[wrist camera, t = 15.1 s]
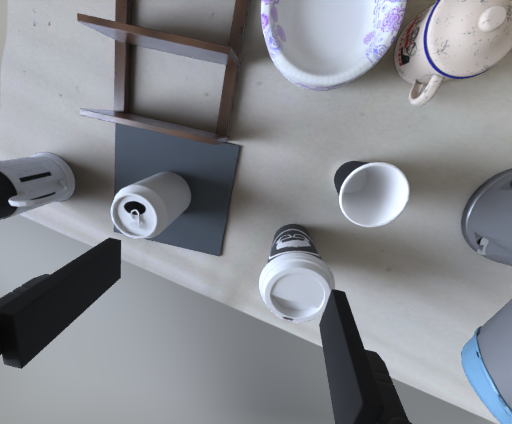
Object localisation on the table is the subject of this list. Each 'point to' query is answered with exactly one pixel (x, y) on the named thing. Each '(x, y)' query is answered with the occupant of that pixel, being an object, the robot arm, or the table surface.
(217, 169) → the mat
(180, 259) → the table surface
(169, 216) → the can
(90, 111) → the rack
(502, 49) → the teacup with lid
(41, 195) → the glass holder
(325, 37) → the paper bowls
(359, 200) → the dixie cup
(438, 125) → the table surface
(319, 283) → the coffee cup
